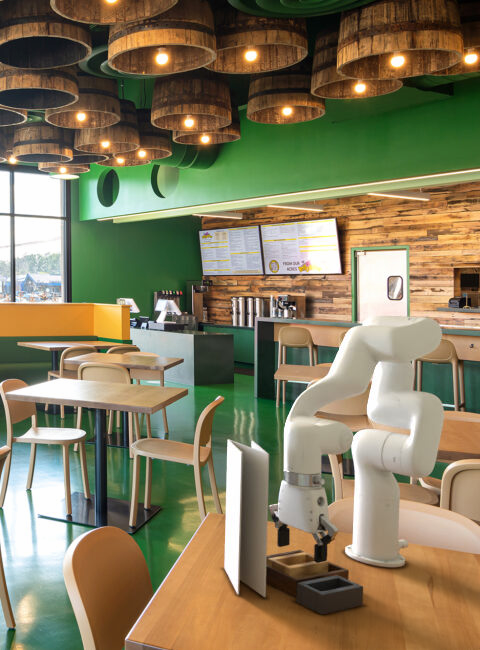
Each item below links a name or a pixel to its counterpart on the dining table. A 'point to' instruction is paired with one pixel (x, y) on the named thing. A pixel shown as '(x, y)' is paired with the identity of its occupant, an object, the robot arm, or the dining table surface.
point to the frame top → (298, 565)
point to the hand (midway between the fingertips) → (301, 553)
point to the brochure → (246, 515)
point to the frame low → (329, 594)
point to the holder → (290, 583)
